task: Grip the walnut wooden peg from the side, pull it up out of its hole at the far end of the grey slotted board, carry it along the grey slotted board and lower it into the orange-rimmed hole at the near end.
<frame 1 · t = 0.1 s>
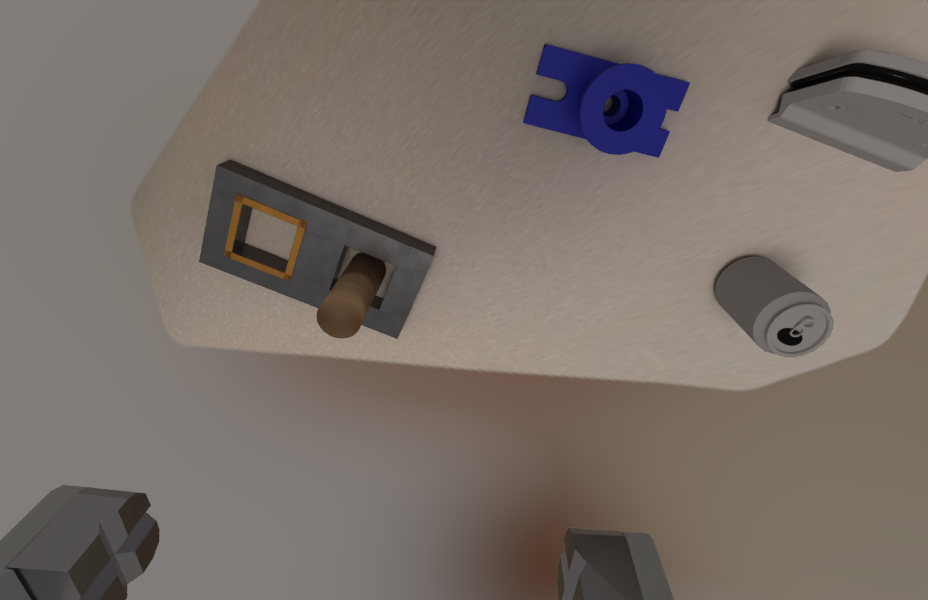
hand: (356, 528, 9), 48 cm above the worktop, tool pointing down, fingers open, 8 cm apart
peg: (368, 268, 59), resting in grey slotted board
mount: (601, 102, 50), on the worktop
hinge: (855, 109, 49), on the worktop
can: (742, 281, 58), on the worktop
grey slotted board: (322, 249, 59), on the worktop
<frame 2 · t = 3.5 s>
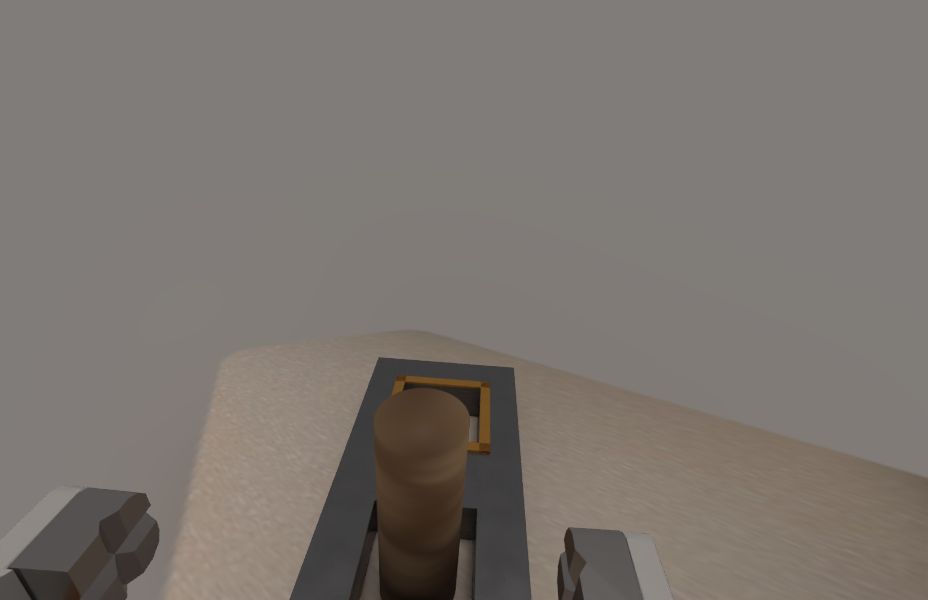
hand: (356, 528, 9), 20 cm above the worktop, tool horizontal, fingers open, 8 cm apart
peg: (418, 584, 28), resting in grey slotted board
grey slotted board: (429, 500, 34), on the worktop
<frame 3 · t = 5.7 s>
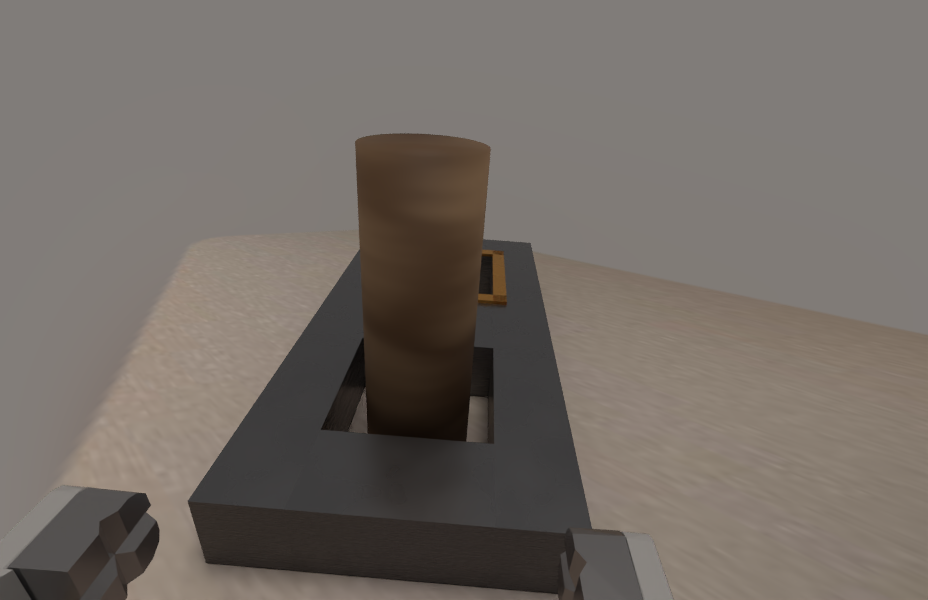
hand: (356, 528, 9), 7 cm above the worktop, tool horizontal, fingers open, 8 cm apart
peg: (417, 435, 22), resting in grey slotted board
grey slotted board: (432, 361, 27), on the worktop
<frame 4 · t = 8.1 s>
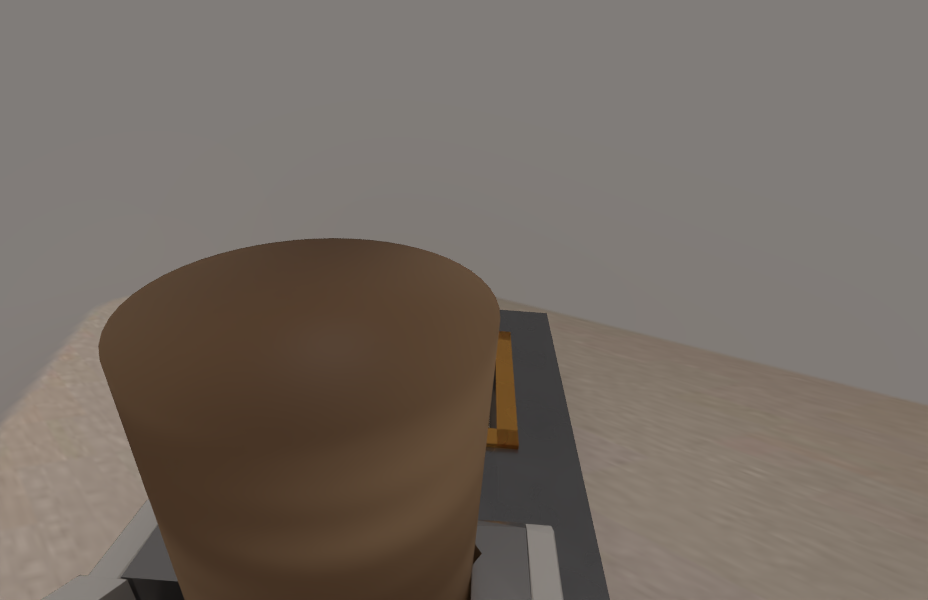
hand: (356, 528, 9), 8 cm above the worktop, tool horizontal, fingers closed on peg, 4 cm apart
grey slotted board: (400, 541, 17), on the worktop
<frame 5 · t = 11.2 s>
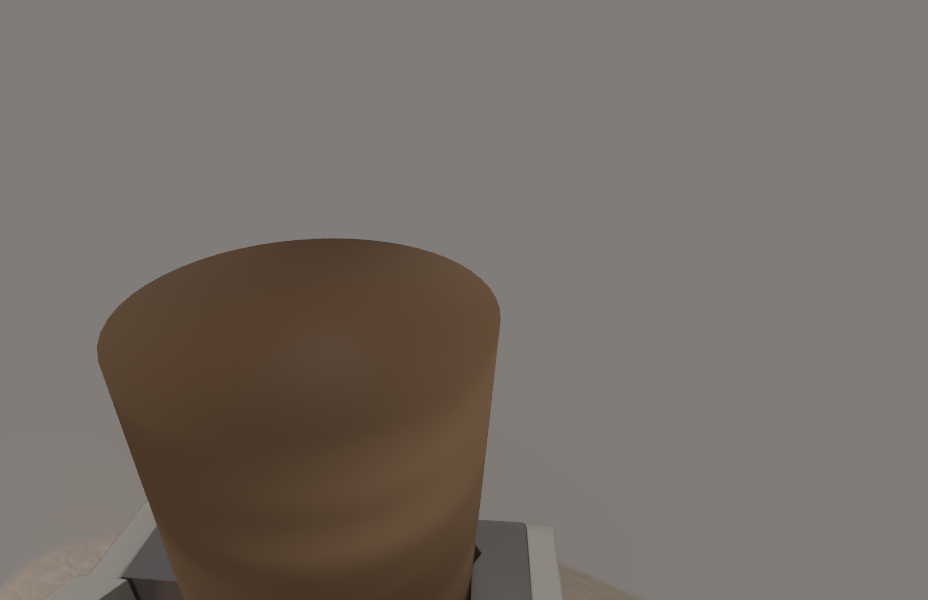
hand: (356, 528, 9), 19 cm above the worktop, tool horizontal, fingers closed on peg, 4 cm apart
when the fingers open (9 cm above the worktop, at t = 14.2 s): peg drops 1 cm, resting in grey slotted board.
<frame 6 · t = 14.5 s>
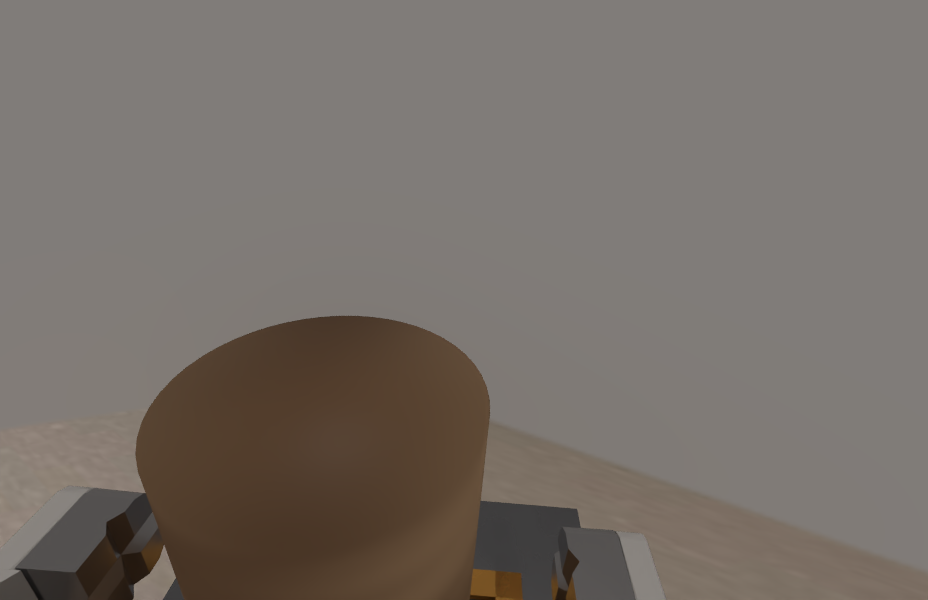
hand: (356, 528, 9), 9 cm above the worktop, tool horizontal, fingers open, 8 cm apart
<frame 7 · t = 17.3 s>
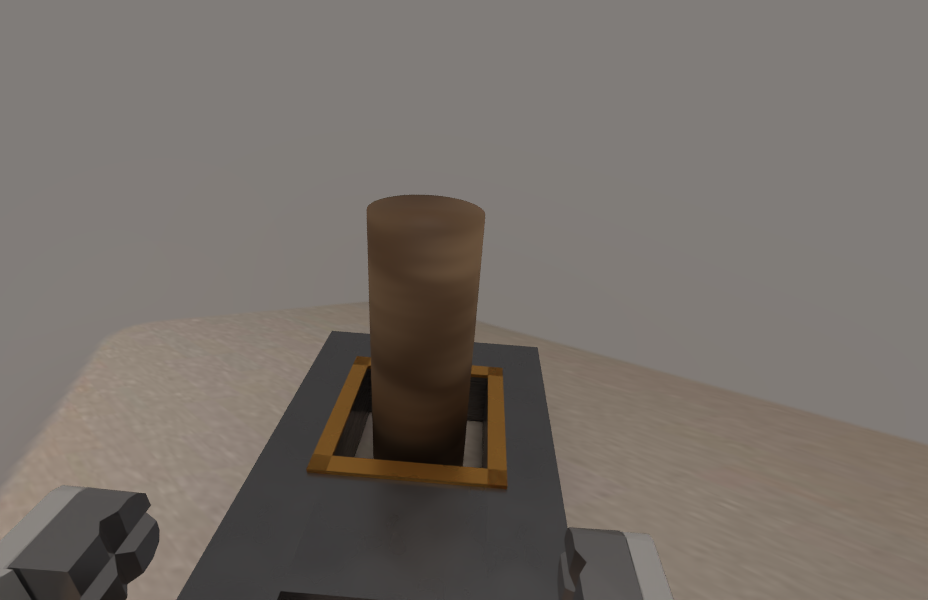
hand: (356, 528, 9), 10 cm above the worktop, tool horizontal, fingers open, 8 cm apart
peg: (418, 459, 24), resting in grey slotted board
grey slotted board: (398, 574, 19), on the worktop
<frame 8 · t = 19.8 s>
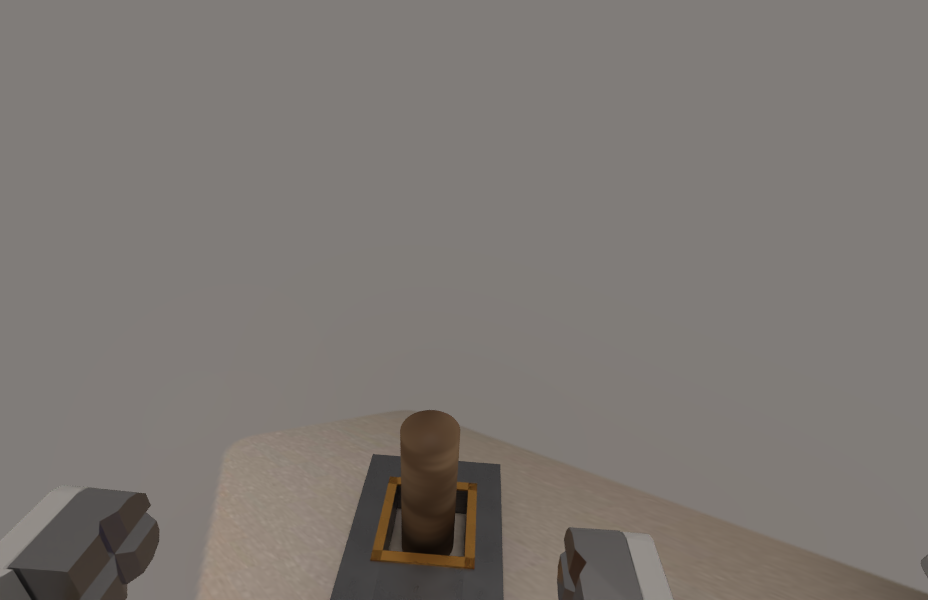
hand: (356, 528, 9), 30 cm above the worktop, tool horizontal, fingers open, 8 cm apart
peg: (427, 542, 42), resting in grey slotted board
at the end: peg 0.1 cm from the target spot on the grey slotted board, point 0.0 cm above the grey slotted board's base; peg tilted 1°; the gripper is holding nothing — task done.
